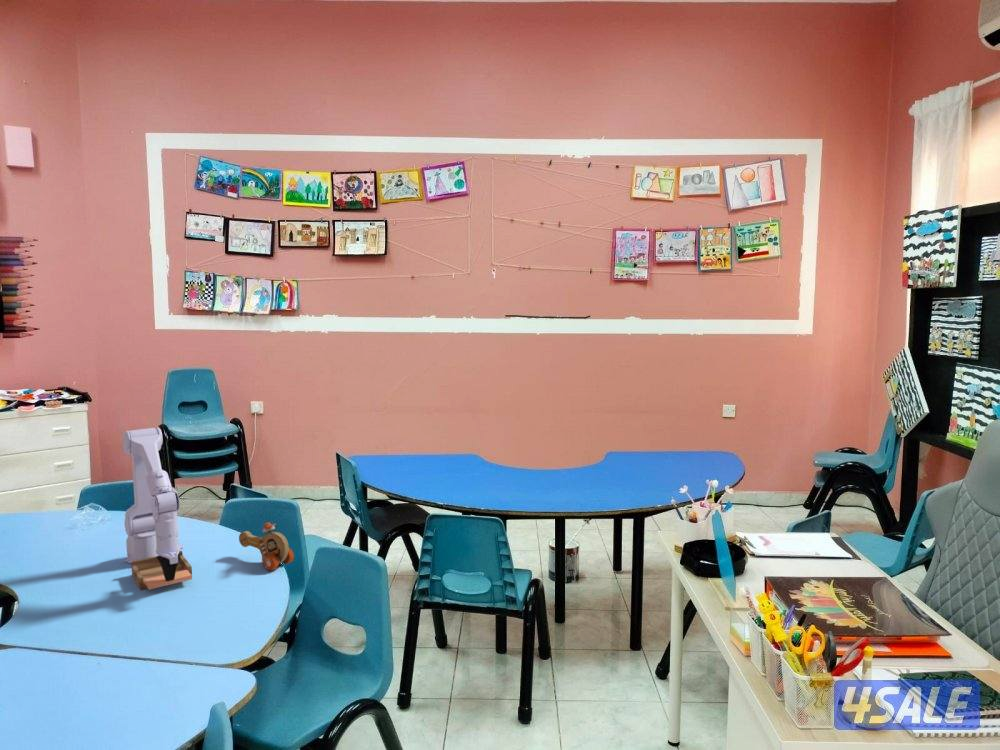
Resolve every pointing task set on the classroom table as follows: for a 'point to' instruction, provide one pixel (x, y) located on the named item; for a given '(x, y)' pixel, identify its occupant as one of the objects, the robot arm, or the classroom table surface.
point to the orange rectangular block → (161, 581)
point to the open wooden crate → (154, 569)
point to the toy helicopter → (269, 546)
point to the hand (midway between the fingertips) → (169, 579)
